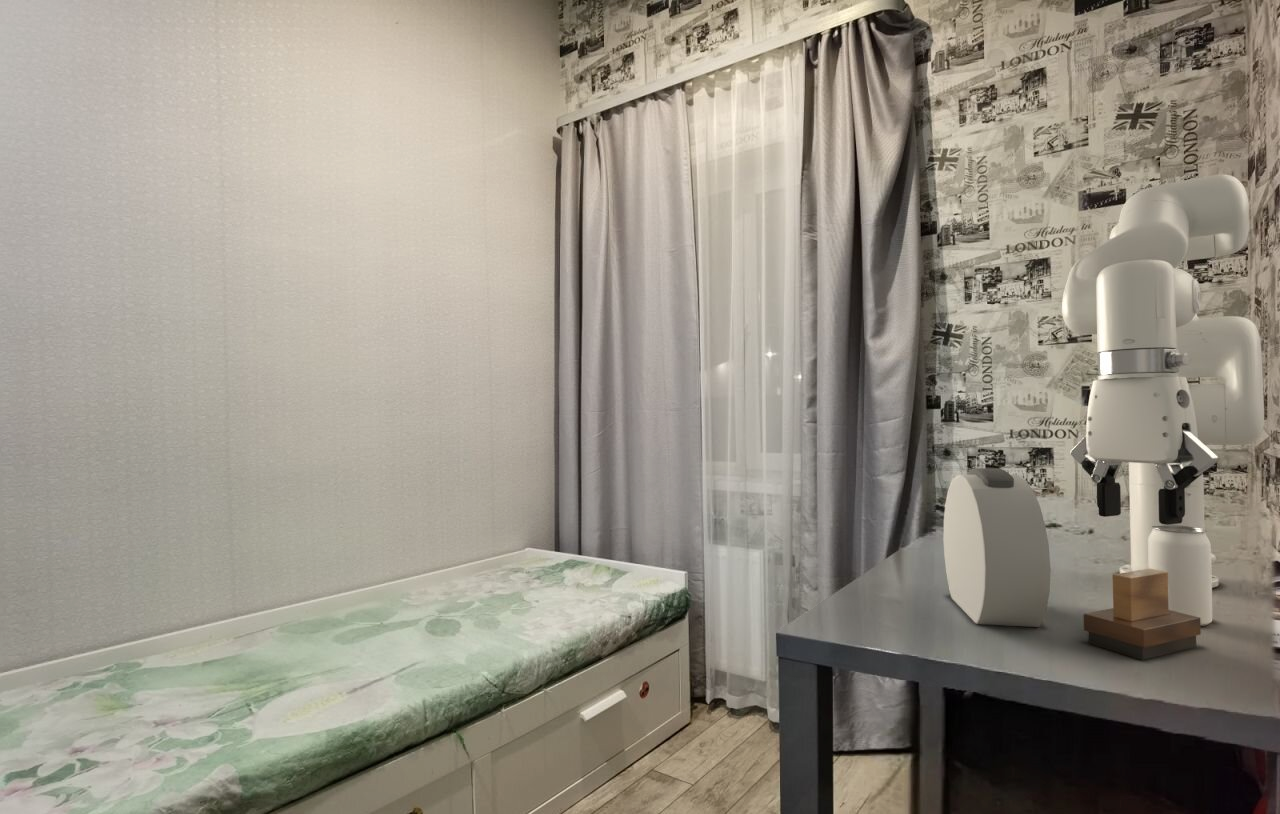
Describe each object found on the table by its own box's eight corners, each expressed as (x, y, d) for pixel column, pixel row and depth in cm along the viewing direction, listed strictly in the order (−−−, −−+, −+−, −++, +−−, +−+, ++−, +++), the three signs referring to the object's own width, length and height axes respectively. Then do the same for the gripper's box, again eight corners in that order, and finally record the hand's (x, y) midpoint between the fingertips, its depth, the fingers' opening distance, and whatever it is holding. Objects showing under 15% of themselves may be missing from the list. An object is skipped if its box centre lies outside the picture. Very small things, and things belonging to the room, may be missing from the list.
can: (1153, 608, 92) (1152, 522, 92) (1215, 618, 88) (1213, 527, 88) (1145, 619, 88) (1143, 528, 88) (1209, 630, 83) (1207, 534, 83)
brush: (1139, 630, 83) (1138, 563, 83) (1201, 647, 77) (1199, 574, 77) (1084, 642, 79) (1082, 571, 79) (1144, 661, 73) (1142, 584, 73)
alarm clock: (1052, 637, 81) (1049, 475, 81) (986, 634, 83) (983, 475, 83) (995, 591, 102) (993, 462, 102) (943, 589, 103) (941, 462, 104)
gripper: (1243, 362, 72) (1247, 528, 72) (1084, 372, 88) (1086, 508, 88) (1202, 360, 69) (1206, 533, 69) (1045, 371, 85) (1047, 512, 85)
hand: (1139, 518), depth 78 cm, fingers open, 6 cm apart
